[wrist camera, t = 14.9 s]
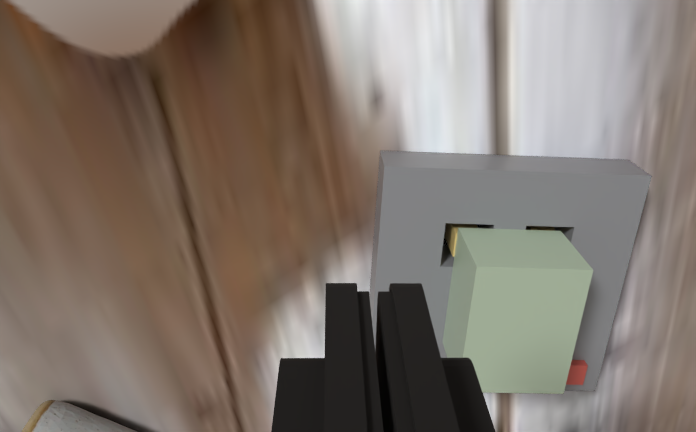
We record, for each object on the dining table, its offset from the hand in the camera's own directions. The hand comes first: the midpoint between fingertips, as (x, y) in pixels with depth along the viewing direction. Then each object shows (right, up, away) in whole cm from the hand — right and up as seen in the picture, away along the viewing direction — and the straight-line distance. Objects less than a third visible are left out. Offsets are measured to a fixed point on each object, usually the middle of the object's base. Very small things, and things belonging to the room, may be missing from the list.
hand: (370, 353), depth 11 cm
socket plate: (+9, -1, +31) cm, 33 cm away
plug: (+9, -1, +31) cm, 32 cm away
